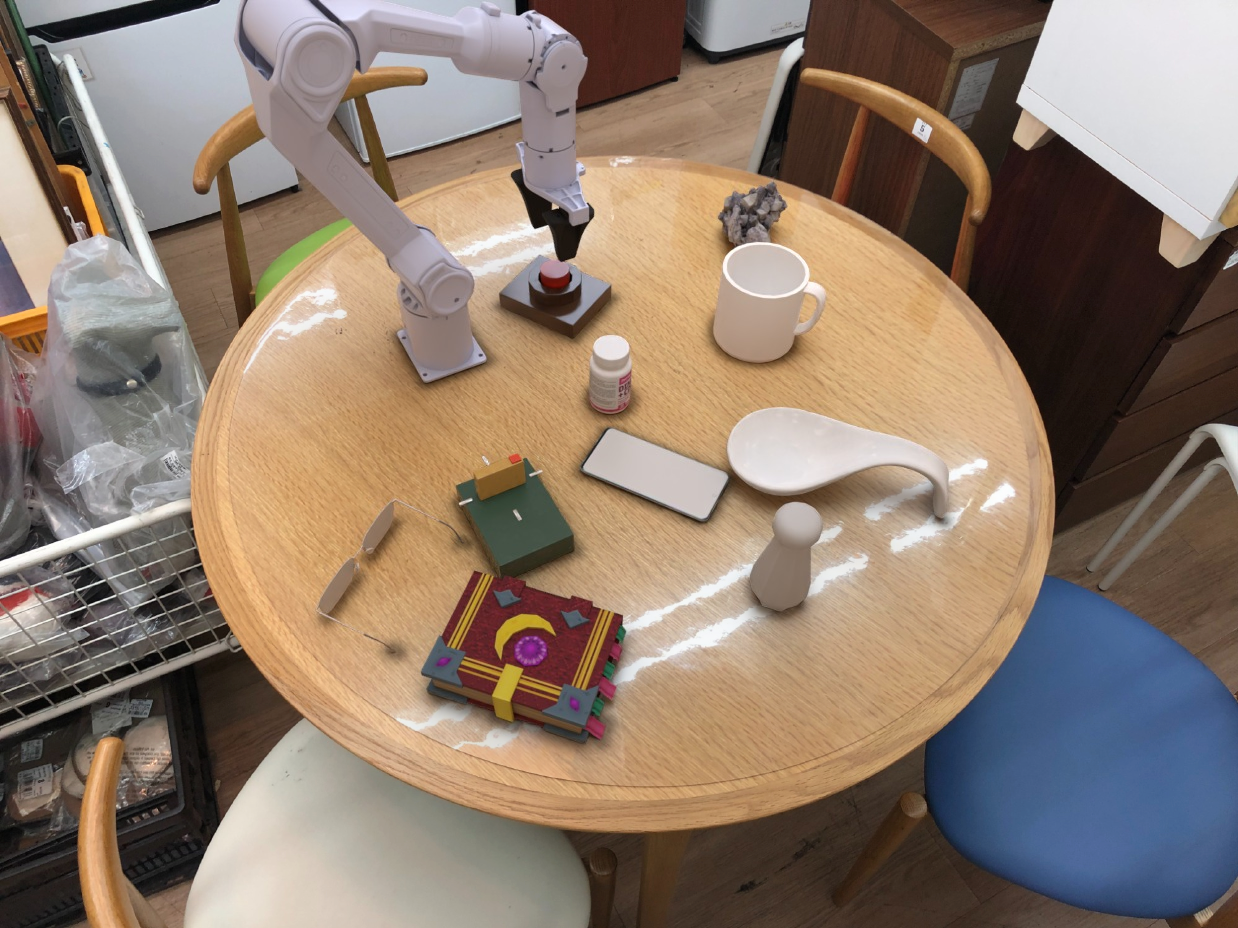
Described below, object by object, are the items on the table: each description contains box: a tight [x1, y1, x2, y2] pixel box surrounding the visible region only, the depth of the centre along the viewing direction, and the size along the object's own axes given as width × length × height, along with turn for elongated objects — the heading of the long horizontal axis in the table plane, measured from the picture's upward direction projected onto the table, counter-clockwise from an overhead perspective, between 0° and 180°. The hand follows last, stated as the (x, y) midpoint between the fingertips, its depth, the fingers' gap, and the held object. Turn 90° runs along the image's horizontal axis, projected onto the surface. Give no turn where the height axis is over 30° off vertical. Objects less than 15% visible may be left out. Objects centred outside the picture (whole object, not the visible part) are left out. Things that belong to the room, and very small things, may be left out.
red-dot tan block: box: [472, 453, 526, 501], centre depth 89 cm, size 5×1×4 cm, turn 118°
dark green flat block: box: [455, 455, 575, 579], centre depth 91 cm, size 13×9×3 cm
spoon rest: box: [726, 406, 950, 519], centre depth 93 cm, size 24×12×7 cm, turn 77°
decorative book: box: [420, 569, 627, 745], centre depth 80 cm, size 11×16×5 cm
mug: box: [712, 242, 827, 364], centre depth 106 cm, size 13×10×10 cm
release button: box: [540, 258, 570, 289], centre depth 109 cm, size 4×4×2 cm
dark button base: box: [498, 254, 612, 339], centre depth 111 cm, size 11×9×4 cm
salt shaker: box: [749, 501, 824, 613], centre depth 82 cm, size 6×6×13 cm
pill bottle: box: [588, 334, 633, 415], centre depth 99 cm, size 5×5×8 cm
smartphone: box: [580, 426, 731, 522], centre depth 96 cm, size 7×1×15 cm
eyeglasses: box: [314, 498, 465, 653], centre depth 86 cm, size 14×8×4 cm, turn 157°
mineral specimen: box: [717, 180, 788, 248], centre depth 119 cm, size 12×9×10 cm
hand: (553, 241), depth 106 cm, fingers open, 6 cm apart
